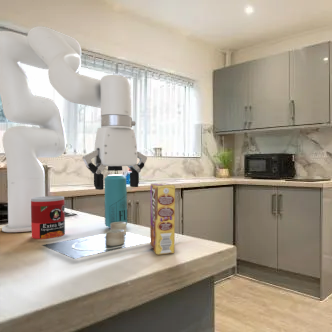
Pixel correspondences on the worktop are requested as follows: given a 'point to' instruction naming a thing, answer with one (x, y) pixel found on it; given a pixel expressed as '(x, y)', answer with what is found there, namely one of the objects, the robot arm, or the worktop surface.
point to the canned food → (47, 217)
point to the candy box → (162, 218)
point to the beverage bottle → (115, 197)
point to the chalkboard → (93, 245)
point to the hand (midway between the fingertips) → (117, 188)
